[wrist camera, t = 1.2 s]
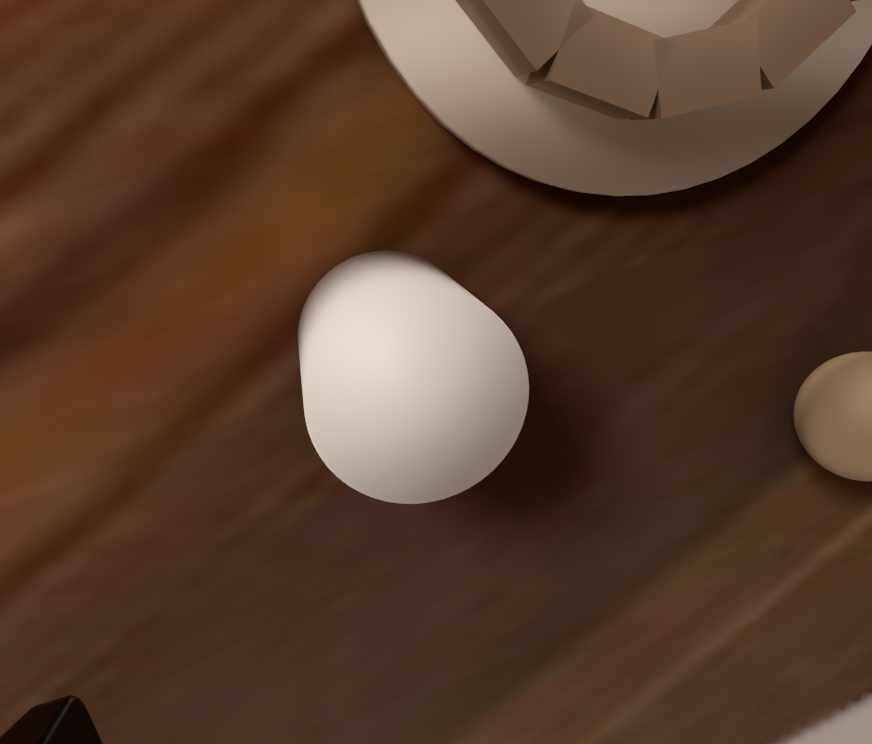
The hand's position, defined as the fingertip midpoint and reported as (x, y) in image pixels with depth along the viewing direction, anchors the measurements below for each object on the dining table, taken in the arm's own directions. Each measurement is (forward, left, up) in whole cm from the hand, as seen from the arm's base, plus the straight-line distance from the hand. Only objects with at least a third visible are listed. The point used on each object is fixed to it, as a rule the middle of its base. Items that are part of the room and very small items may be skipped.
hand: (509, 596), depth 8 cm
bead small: (-5, -12, -12) cm, 18 cm away
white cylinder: (0, 0, -12) cm, 12 cm away
